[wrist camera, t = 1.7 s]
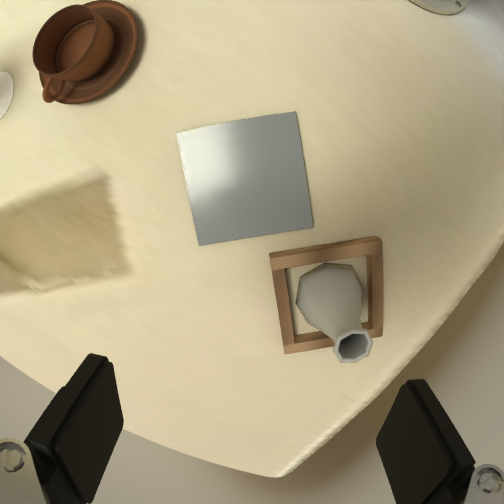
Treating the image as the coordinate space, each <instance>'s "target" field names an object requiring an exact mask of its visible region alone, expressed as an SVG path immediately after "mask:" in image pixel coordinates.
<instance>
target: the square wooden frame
mask: <svg viewBox="0 0 504 504" xmlns="http://www.w3.org/2000/svg"><path fill="white" fill-rule="evenodd" d="M363 255H366V258H367V280H368V322H366V323H361V325H362V328H365V329H367V331H368V333H369V335H370V337H371V338H376V337H380V336H382V334H383V259H382V240H381V239H379V238H378V237H377V236H374V237H368V238H362V239H356V240H349V241H343V242H337V243H331V244H324V245H318V246H312V247H306V248H299V249H293V250H287V251H280V252H274V253H269V256H270V263H271V269H272V275H273V281H274V288H275V294H276V300H277V307H278V313H279V320H280V326H281V333H282V339H283V346H284V353H285V354H291V353H297V352H303V351H309V350H315V349H321V348H326V347H332V346H334V345H335V343H334V341H333V340H332V339H331V338H330V337H329V336H327V335H326V334H325V333H323V332H322V331H319V332H313V333H307V334H301V335H295V336H294V334H293V327H292V319H291V312H290V305H289V297H288V290H287V283H286V276H285V269H284V268H290V267H296V266H303V265H309V264H315V263H321V262H327V261H333V260H339V259H345V258H351V257H357V256H363Z"/></svg>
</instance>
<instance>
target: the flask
mask: <svg viewBox="0 0 504 504" xmlns="http://www.w3.org/2000/svg"><path fill="white" fill-rule="evenodd" d="M361 298H362V286H361V284H360V282H359V280H358V278H357V276H356V274H355V272H354V270H353V268H352V266H347V265H336V264H323V265H321V266H319V267H318V268H316V269H314V270H312V271H310V272H309V273H307V274H305V275H303V276H302V277H300V279H299V285H298V292H297V298H296V305H297V306H298V308H299V309H300V311H301V313H302V314H303V316H304V317H305V319H306V321H307V322H308V323H309V324H310V325H311V326H313V327H315V328H317V329H318V330H320V331H322V332H323V333H325V334H326V335H327V336H329V337H330V338H331V339H332V340H333V341H334V343H335V345H334V348H333V351H334V353H335V355H336V356H337V358H338V360H339V361H340V363H355V362H357V361H359V360H361V359H363V358H365V357H366V356H368V355H369V353H370V350H371V347H372V343H373V341H372V339H371V337H370V335H369V333H368V331H367V329H365V328H362V325H361V320H360V313H361Z"/></svg>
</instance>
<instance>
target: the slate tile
mask: <svg viewBox="0 0 504 504" xmlns="http://www.w3.org/2000/svg"><path fill="white" fill-rule="evenodd" d="M177 138H178V144H179V149H180V155H181V160H182V165H183V171H184V176H185V181H186V186H187V191H188V196H189V201H190V206H191V210H192V215H193V220H194V225H195V229H196V234H197V239H198V243H199V246H203V245H209V244H215V243H221V242H227V241H233V240H239V239H245V238H252V237H258V236H264V235H270V234H277V233H283V232H289V231H296V230H302V229H309V228H313V223H312V215H311V207H310V200H309V193H308V186H307V179H306V172H305V165H304V159H303V153H302V147H301V140H300V134H299V129H298V123H297V117H296V112H288V113H281V114H274V115H267V116H260V117H254V118H248V119H242V120H237V121H231V122H226V123H221V124H215V125H210V126H206V127H201V128H196V129H192V130H187V131H183V132H179V133H177Z"/></svg>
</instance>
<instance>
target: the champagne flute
mask: <svg viewBox="0 0 504 504" xmlns="http://www.w3.org/2000/svg"><path fill="white" fill-rule="evenodd" d="M13 89H14V87H13V79H12V77H11V75H10V74H9V73H7V72H0V118H1V117H2V116H3V115H4V114H5V113H6V111H7V109H8V107H9V105H10V103H11V100H12V96H13Z"/></svg>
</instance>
